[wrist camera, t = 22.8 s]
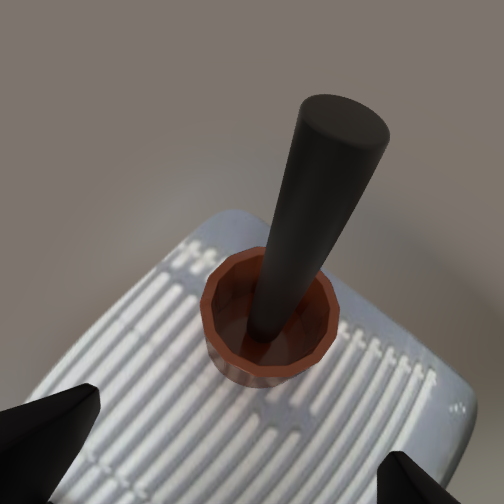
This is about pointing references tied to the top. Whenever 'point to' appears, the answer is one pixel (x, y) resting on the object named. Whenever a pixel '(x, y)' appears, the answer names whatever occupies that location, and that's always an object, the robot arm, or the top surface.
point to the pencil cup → (288, 341)
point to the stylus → (314, 203)
